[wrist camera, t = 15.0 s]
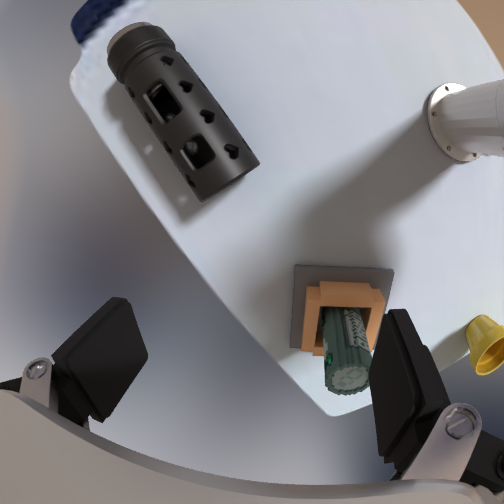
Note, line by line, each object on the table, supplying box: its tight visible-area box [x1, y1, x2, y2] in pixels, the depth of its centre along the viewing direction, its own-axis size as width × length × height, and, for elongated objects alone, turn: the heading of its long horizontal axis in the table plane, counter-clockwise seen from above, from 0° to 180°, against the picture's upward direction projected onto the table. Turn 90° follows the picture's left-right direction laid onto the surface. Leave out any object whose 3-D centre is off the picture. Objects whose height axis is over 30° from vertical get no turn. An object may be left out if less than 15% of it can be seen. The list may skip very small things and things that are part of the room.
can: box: [321, 306, 372, 396], centre depth 36 cm, size 6×6×15 cm
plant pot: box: [466, 315, 504, 375], centre depth 36 cm, size 10×10×10 cm
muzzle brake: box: [107, 22, 260, 202], centre depth 31 cm, size 10×28×10 cm, turn 33°
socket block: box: [290, 265, 394, 356], centre depth 41 cm, size 16×16×5 cm
